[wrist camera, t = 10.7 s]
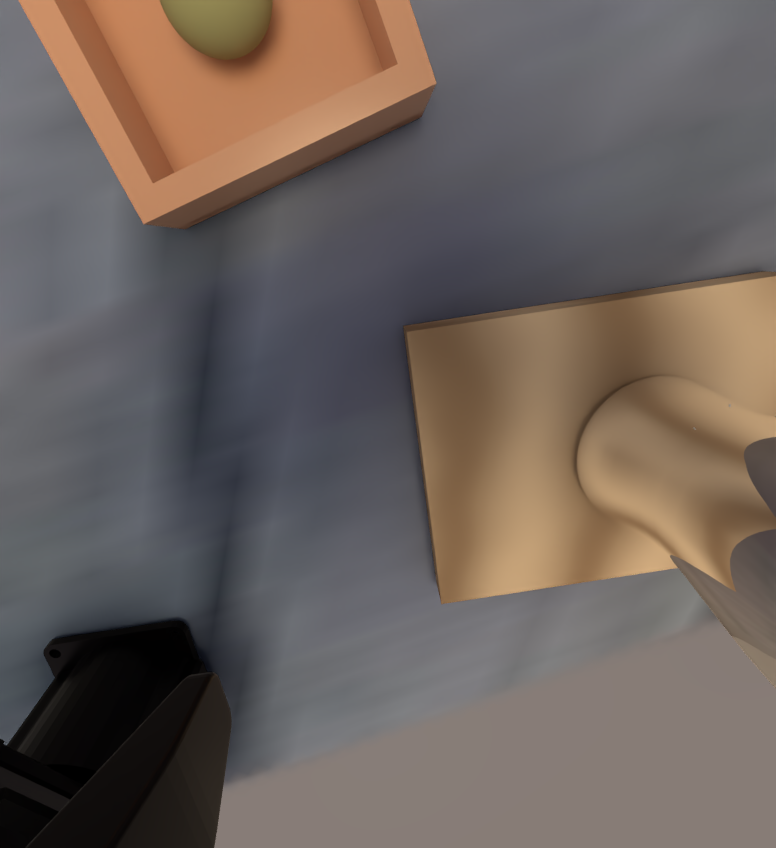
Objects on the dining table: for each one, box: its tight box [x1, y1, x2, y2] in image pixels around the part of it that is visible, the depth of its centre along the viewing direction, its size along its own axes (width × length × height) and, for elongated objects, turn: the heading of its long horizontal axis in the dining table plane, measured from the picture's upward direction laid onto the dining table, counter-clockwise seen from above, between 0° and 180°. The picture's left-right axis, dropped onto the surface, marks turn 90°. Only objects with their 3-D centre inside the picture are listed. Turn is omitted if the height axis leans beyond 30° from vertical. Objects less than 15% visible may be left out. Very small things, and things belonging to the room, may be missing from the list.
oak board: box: [403, 271, 776, 604], centre depth 20 cm, size 14×12×2 cm
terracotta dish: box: [19, 0, 436, 229], centre depth 14 cm, size 9×9×4 cm
